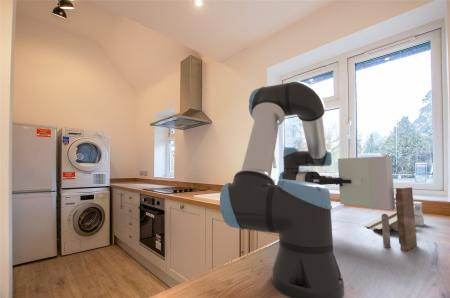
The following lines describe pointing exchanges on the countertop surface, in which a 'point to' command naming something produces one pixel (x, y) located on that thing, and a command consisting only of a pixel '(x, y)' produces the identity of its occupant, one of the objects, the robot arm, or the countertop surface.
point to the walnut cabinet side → (402, 220)
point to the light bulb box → (418, 213)
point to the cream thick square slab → (367, 182)
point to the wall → (378, 222)
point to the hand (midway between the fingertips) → (363, 181)
